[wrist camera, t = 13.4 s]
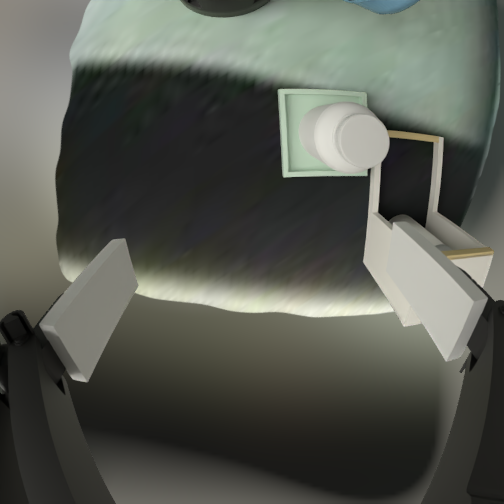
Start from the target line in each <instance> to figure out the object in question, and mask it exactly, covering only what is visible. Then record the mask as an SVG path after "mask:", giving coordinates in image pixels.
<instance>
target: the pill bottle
mask: <svg viewBox="0 0 504 504" xmlns="http://www.w3.org/2000/svg"><path fill="white" fill-rule="evenodd" d="M299 139H300V142H301V144H302V146H303V148H304V149H305V150H306V151H307V153H309V154H310V155H311V156H313V157H314V158H316V159H318V160H319V161H321V162H322V163H324V164H326V165H327V166H329V167H330V168H332V169H334V170H336V171H338V172H341V173H346V174H355V173H360V172H363V171H365V170H367V169H369V168H371V167H375V166H376V165H378V164H380V163H381V162H382V161H383V160H384V158H385V157H386V155H387V153H388V150H389V143H390V142H389V135H388V132H387V129H386V127H385V126H384V124H383V123H382V122H381V121H380V120H379V119H378V118H377V117H376V116H375V114H374V113H373V112H372V111H370V110H369V109H368V108H366V107H365V106H363V105H361V104H358V103H355V102H338V103H332V104H327V105H322V106H318V107H315V108H313V109H311V110H310V111H308V112H307V113H306V114H305V115H304V116H303V118H302V120H301V122H300V125H299Z"/></svg>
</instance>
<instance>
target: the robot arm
mask: <svg viewBox="0 0 504 504" xmlns="http://www.w3.org/2000/svg"><path fill="white" fill-rule="evenodd" d="M180 1H181V2H182V3H183V4H184V5H185V6H186V7H187V8H189V9H190V10H192V11H194V12H196V13H199V14H202V15H206V16H211V17H233V16H239V15H243V14H246V13H249V12H252V11H254V10H256V9H258V8H260V7H262V6H263V5H264V4H266V3H267V2H268V1H269V0H180ZM344 1H346V2H349V3H354V4H357V5H359V6H361V7H364V8H366V9H368V10H370V11H372V12H375V13H378V14H394V13H398V12H400V11H403V10H405V9H407V8H409V7H411V6H412V5H414V4H415V3H417V2H418V1H420V0H344ZM386 272H387V273H388V275H389V276H390V277H391V279H392V280H393V281H394V283H395V284H396V286H397V287H398V288H399V290H400V291H401V293H402V294H403V295H404V297H405V298H406V300H407V301H408V303H409V304H410V306H411V307H412V308H413V310H414V311H415V313H416V314H417V316H418V317H419V319H420V320H421V322H422V324H423V325H424V327H425V328H426V330H427V331H428V333H429V334H430V336H431V338H432V339H433V341H434V342H435V344H436V346H437V347H438V349H439V351H440V352H441V354H442V355H443V357H444V359H445V361H446V362H447V361H450V360H454V359H456V358H460V357H461V355H462V353H463V351H464V350H465V348H466V346H468V347H469V349H470V350H471V352H470V354H469V356H468V357H467V359H466V361H465V363H464V364H463V367H462V368H461V370H460V373H462V371H463V370H464V369H465V368H466V369H465V375H464V380H463V385H462V389H461V394H460V398H459V402H458V406H457V410H456V414H455V417H454V421H453V425H452V428H451V431H450V434H449V437H448V440H447V443H446V447H445V449H444V452H443V454H442V457H441V460H440V462H439V465H438V467H437V470H436V472H435V475H434V477H433V479H432V481H431V484H430V486H429V488H428V490H427V493H426V494H425V496H424V498H423V501H422V503H421V504H504V301H503V300H498V301H496V302H495V301H494V300H493V299H492V298H491V297H490V296H489V295H488V294H487V292H486V291H485V290H484V289H483V288H482V287H481V286H480V285H479V284H477V282H476V281H475V280H474V279H472V277H471V276H470V275H469V274H468V273H467V272H466V271H464V270H463V269H461V268H459V267H458V266H456V265H455V264H454V263H453V262H452V261H451V260H450V259H448V258H447V257H446V256H445V255H444V254H443V253H442V252H441V251H440V250H439V249H437V248H436V247H435V246H434V245H433V244H432V243H431V242H430V241H428V240H427V239H426V238H425V237H424V236H423V235H421V234H420V233H419V232H418V231H417V230H416V229H414V228H413V227H412V226H411V225H409V224H408V223H407V222H393V228H392V236H391V243H390V249H389V256H388V262H387V267H386ZM137 287H138V283H137V280H136V276H135V273H134V270H133V266H132V263H131V259H130V255H129V252H128V248H127V244H126V240H125V239H115V240H112V241H111V242H110V243H109V244H108V245H107V246H106V247H105V248H104V249H103V250H102V251H101V252H100V253H99V254H98V255H97V256H96V257H95V258H94V259H93V261H92V262H91V263H90V264H89V265H88V266H87V267H86V268H85V269H84V270H83V272H82V273H81V274H80V275H79V276H78V277H77V278H76V280H75V281H74V282H73V283H72V284H71V285H70V287H69V288H68V289H67V290H66V291H65V292H64V293H63V294H61V295H60V296H59V297H58V298H57V299H56V301H55V302H54V303H53V305H51V307H50V308H49V311H47V312H46V313H45V315H43V317H42V318H41V319H40V321H39V322H38V323H37V325H36V326H35V327H34V328H32V326H31V325H30V322H29V321H28V319H27V317H26V315H25V313H24V312H23V311H21V310H16V311H13V312H11V313H9V314H7V315H6V316H5V317H4V318H3V319H2V320H1V321H0V332H1V334H2V336H3V337H4V339H5V340H6V342H7V344H1V342H0V386H1V387H2V389H3V391H2V394H1V393H0V504H116V503H115V501H114V500H113V498H112V496H111V494H110V492H109V491H108V489H107V487H106V485H105V483H104V481H103V479H102V477H101V475H100V473H99V471H98V468H97V466H96V464H95V462H94V459H93V457H92V455H91V453H90V450H89V448H88V445H87V443H86V441H85V438H84V435H83V433H82V430H81V427H80V424H79V421H78V419H77V416H76V413H75V410H74V406H73V403H72V400H71V397H70V393H69V390H68V386H67V382H66V380H65V379H64V377H63V376H62V375H63V373H64V371H65V369H66V370H67V372H68V373H69V375H70V376H71V377H72V379H74V380H79V381H84V382H88V380H89V378H90V376H91V374H92V372H93V370H94V368H95V366H96V364H97V361H98V360H99V357H100V356H101V354H102V352H103V350H104V348H105V346H106V344H107V342H108V340H109V338H110V336H111V334H112V332H113V330H114V329H115V327H116V325H117V323H118V321H119V319H120V317H121V316H122V314H123V312H124V310H125V308H126V307H127V305H128V303H129V301H130V299H131V298H132V296H133V294H134V292H135V291H136V289H137Z"/></svg>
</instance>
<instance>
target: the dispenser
mask: <svg viewBox="0 0 504 504" xmlns="http://www.w3.org/2000/svg"><path fill="white" fill-rule="evenodd" d="M387 132H388V135H389V137H394V138H404V139H413V140H422V141H429V142H434V151H433V167H432V180H431V190H430V198H429V206H428V213H427V220H426V226H425V228H424V227H422V226H421V225H420V224H419V223H417V222H416V221H415V220H413V219H412V218H411V217H409V216H407V215H397V216H395V217H393V218H392V219H390V220H389V221H387V220H386V219H385V218H384V217H383V216H381V215H380V214H379V213H378V205H379V191H380V173H381V163H380V164H378V165H376V166H375V167H371V179H370V197H369V211H368V223H367V234H366V243H365V252H364V260H363V262H364V264H365V265H366V267H367V268H368V270H369V271H370V273H371V275H372V276H373V278H374V279H375V281H376V282H377V284H378V285H379V287H380V288H381V290H382V292H383V293H384V295H385V296H386V298H387V300H388V301H389V303H390V304H391V306H392V308H393V309H394V311H395V313H396V314H397V316H398V318H399V319H400V321H401V323H402V324H403V326H404V327H406V326H411V325H416V324H421V323H422V322H421V320H420V319H419V317H418V316H417V314H416V313H415V311H414V310H413V308H412V307H411V306H410V304H409V303H408V301H407V300H406V298H405V297H404V295H403V294H402V293H401V291H400V290H399V288H398V287H397V286H396V284H395V283H394V281H393V280H392V279H391V277H390V276H389V275H388V273H387V272H386V267H387V262H388V256H389V249H390V243H391V236H392V228H393V222H407V223H408V224H409V225H411V226H412V227H413V228H414V229H416V230H417V231H418V232H419V233H420V234H421V235H423V236H424V237H425V238H426V239H427V240H428V241H430V242H431V243H432V244H433V245H434V246H435V247H436V248H437V249H439V250H440V251H441V252H442V253H443V254H444V255H445V256H446V257H447V258H448V259H450V260H451V261H452V262H453V263H454V264H455V265H456V266H458V267H459V268H461V269H463V270H464V271H466V272H467V273H468V274H469V275H470V276H471V277H472V279H474V280H475V281H476V282H477V284H479V285H480V286H481V287H482V288H483V285H484V282H485V280H486V277H487V274H488V270H489V267H490V264H491V261H492V257H493V254H494V250H492V249H491V248H490V247H485V246H484V245H483V244H481V243H480V242H479V241H478V240H476V239H475V238H474V237H472V236H471V235H469V234H468V233H467V232H465V231H464V230H463V229H461V228H460V227H459V226H457V225H456V224H454V223H453V222H451V221H450V220H448V219H447V218H446V217H444V216H443V215H441V214H440V213H438V212H437V207H438V200H439V192H440V183H441V172H442V159H443V137H439V136H432V135H426V134H418V133H410V132H402V131H392V130H387Z"/></svg>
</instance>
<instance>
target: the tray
mask: <svg viewBox="0 0 504 504" xmlns="http://www.w3.org/2000/svg"><path fill="white" fill-rule="evenodd" d="M278 102H279V117H280V135H281V154H282V175H283V177H303V176H367V170H365V171H363V172H360V173H355V174H346V173H341V172H338V171H336V170H334V169H332V168H330V167H329V166H327V165H326V164H324V163H322V162H321V161H319V160H318V159H316V158H314V157H313V156H311V155H310V154H309V153H307V151H306V150H305V149H304V148H303V146H302V144H301V142H300V139H299V125H300V122H301V120H302V118H303V116H304V115H305V114H306V113H307V112H308V111H310V110H311V109H313V108H315V107H318V106H322V105H327V104H332V103H338V102H355V103H358V104H361V105H363V106H365V107H366V108H367V93H366V92H355V91H342V90H324V89H279V90H278Z"/></svg>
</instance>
